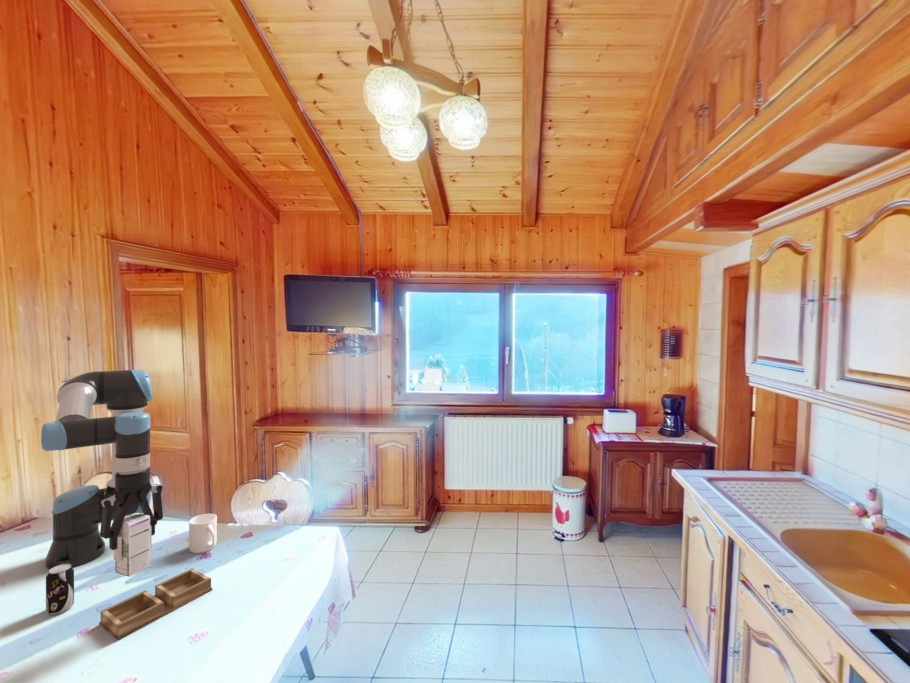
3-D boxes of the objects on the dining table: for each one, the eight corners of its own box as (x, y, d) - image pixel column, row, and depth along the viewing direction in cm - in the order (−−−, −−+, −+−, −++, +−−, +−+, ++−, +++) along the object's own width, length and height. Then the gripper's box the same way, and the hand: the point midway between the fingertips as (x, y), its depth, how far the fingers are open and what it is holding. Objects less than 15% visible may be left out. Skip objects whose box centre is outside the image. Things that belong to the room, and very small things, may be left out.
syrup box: (151, 566, 113) (151, 514, 113) (128, 578, 108) (128, 523, 108) (137, 562, 115) (137, 511, 115) (113, 573, 110) (114, 519, 110)
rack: (99, 624, 110) (99, 611, 110) (192, 578, 131) (192, 567, 131) (117, 640, 105) (117, 626, 104) (212, 589, 125) (212, 578, 125)
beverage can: (41, 618, 112) (41, 575, 111) (52, 605, 117) (52, 564, 117) (68, 613, 114) (68, 571, 114) (77, 600, 119) (77, 560, 119)
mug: (200, 559, 142) (200, 529, 141) (184, 549, 148) (184, 520, 148) (225, 549, 149) (226, 520, 148) (209, 539, 155) (209, 511, 155)
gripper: (94, 483, 101) (94, 575, 101) (178, 462, 118) (178, 542, 118) (81, 478, 105) (82, 566, 105) (165, 458, 121) (164, 535, 122)
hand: (132, 553), depth 111 cm, fingers closed on syrup box, 6 cm apart
